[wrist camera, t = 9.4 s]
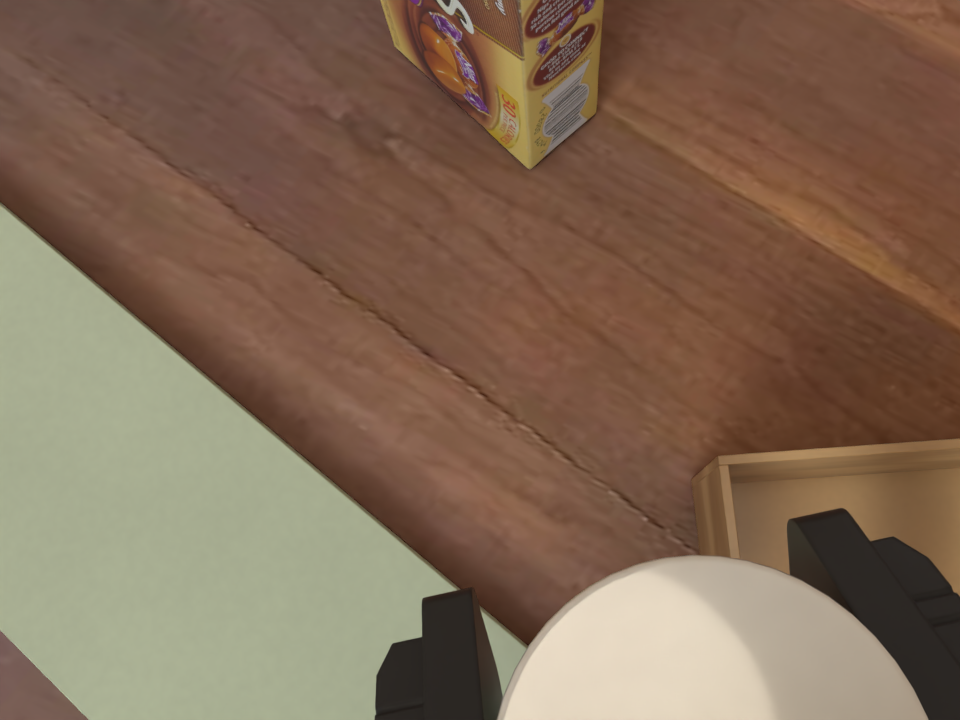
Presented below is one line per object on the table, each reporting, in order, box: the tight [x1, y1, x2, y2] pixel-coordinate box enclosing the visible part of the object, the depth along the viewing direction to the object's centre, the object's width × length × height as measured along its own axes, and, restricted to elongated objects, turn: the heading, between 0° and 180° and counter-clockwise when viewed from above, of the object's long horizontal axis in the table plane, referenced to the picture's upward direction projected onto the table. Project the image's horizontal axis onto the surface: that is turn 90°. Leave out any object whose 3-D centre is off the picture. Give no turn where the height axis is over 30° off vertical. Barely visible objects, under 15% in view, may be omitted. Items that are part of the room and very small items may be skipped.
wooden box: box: [691, 438, 960, 596], centre depth 28 cm, size 13×12×6 cm
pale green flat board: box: [0, 202, 528, 720], centre depth 35 cm, size 40×12×1 cm, turn 51°
